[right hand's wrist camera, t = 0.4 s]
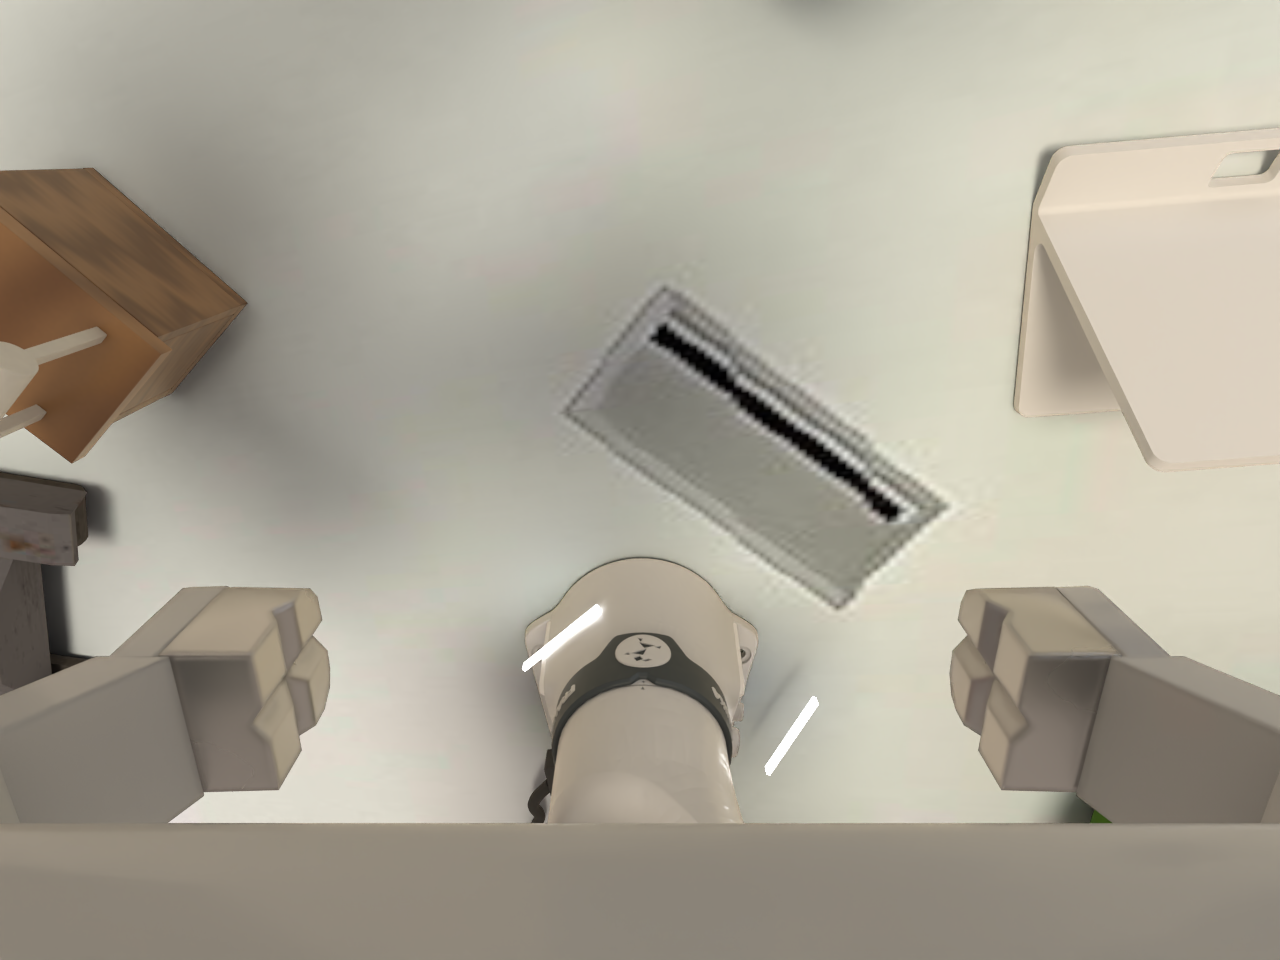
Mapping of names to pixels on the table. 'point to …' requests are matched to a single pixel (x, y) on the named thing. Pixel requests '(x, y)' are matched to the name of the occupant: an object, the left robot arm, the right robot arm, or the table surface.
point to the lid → (64, 348)
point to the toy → (33, 570)
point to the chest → (126, 264)
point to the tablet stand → (1158, 297)
